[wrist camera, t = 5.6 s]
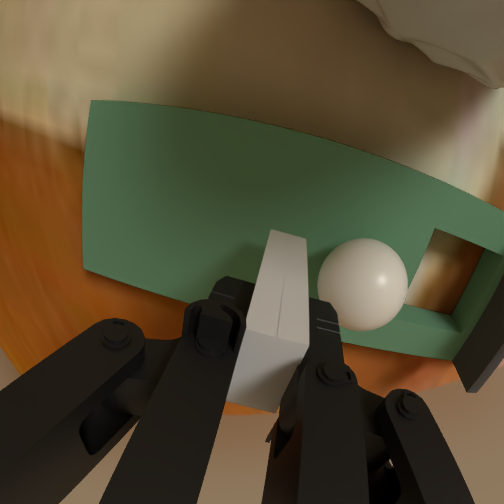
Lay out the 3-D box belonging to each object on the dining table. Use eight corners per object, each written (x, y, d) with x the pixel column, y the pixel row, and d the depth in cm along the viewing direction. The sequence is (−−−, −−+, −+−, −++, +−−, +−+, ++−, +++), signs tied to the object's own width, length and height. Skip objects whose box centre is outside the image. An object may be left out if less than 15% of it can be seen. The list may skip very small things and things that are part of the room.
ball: (395, 335, 13) (338, 290, 16) (434, 264, 12) (368, 223, 14) (350, 362, 11) (286, 303, 13) (401, 274, 9) (318, 220, 12)
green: (99, 255, 19) (-27, 371, 8) (111, 100, 14) (-83, 121, 4) (473, 347, 18) (531, 473, 7) (535, 229, 13) (647, 327, 3)
